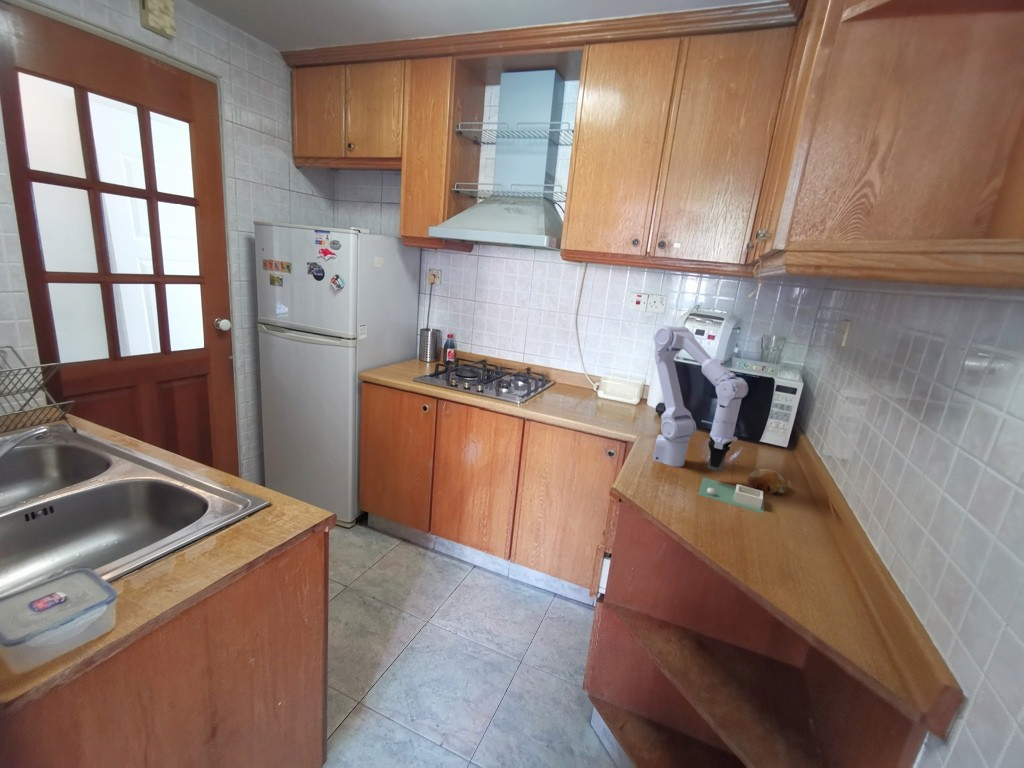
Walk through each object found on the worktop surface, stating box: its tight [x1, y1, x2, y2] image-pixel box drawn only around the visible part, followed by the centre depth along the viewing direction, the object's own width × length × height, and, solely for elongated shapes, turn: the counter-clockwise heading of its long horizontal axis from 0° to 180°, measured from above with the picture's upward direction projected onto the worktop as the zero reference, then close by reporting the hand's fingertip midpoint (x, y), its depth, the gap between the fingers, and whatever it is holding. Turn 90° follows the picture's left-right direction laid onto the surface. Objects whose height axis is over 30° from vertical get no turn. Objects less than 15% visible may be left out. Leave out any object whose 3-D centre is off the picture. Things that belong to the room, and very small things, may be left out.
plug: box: [706, 453, 727, 473], centre depth 128 cm, size 4×3×6 cm
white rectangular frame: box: [733, 483, 764, 509], centre depth 120 cm, size 6×5×3 cm
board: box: [697, 476, 765, 514], centre depth 123 cm, size 16×13×2 cm
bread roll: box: [746, 468, 787, 497], centre depth 130 cm, size 10×10×8 cm
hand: (715, 464), depth 129 cm, fingers closed on plug, 3 cm apart
